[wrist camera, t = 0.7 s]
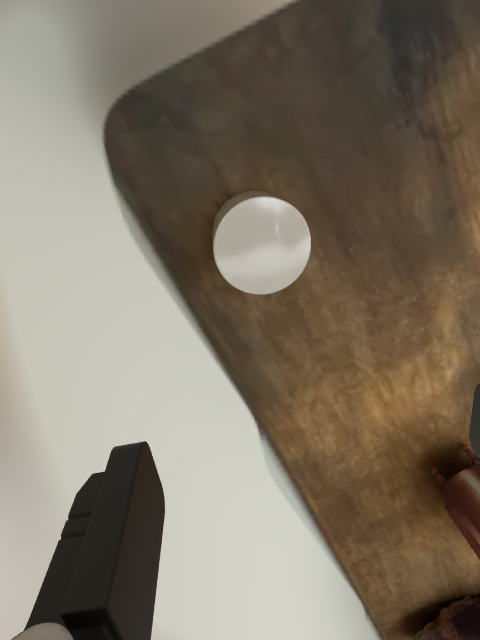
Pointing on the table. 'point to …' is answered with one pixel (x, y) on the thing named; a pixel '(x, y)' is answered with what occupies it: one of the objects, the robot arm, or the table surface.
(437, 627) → the rock
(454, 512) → the alarm clock
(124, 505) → the robot arm
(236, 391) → the table surface
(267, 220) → the stone
